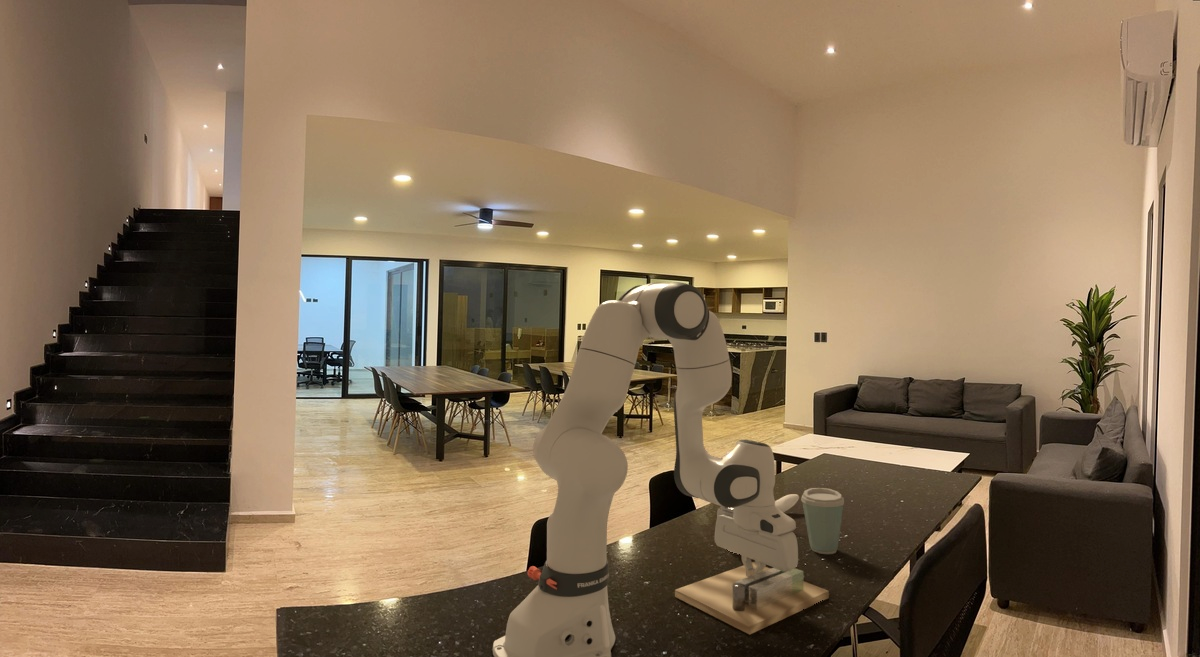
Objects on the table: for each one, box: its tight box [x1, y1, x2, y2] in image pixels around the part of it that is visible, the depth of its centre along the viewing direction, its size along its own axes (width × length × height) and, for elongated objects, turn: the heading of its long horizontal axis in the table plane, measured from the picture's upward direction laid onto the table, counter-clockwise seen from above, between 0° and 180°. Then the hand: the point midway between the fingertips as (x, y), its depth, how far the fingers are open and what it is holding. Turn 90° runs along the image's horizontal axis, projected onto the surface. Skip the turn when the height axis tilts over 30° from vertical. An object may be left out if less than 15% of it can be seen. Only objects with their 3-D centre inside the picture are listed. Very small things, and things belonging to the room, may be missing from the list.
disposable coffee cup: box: [800, 487, 845, 555], centre depth 157 cm, size 11×11×15 cm
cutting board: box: [674, 561, 830, 636], centre depth 130 cm, size 26×20×2 cm
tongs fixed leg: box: [749, 567, 804, 610], centre depth 126 cm, size 16×2×4 cm, turn 127°
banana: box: [775, 493, 800, 513], centre depth 186 cm, size 5×19×15 cm, turn 131°
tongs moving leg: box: [732, 567, 785, 611], centre depth 126 cm, size 19×4×5 cm, turn 127°
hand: (753, 578), depth 132 cm, fingers closed
